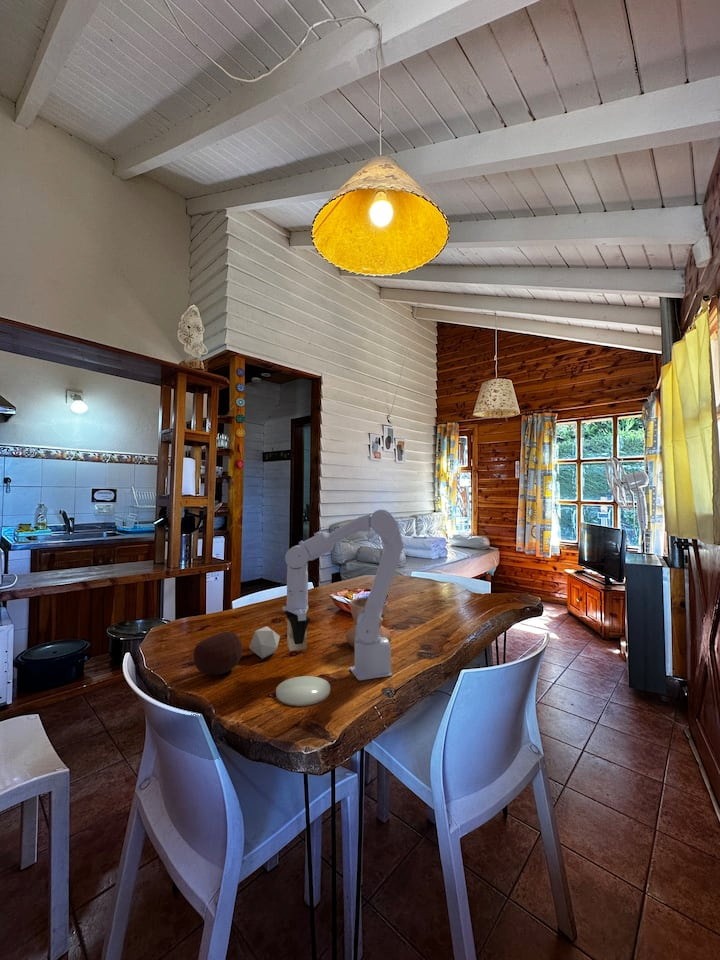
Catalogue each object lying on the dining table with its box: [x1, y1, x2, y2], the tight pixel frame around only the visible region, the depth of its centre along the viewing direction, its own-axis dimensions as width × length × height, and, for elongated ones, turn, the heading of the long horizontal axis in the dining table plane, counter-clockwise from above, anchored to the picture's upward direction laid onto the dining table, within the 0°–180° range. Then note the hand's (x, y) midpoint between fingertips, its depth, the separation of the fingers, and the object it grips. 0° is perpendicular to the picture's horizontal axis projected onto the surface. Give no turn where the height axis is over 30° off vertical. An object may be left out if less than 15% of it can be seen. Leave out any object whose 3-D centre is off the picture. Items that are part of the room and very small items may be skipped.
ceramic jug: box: [345, 596, 392, 649], centre depth 128 cm, size 18×14×14 cm
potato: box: [192, 631, 243, 676], centre depth 108 cm, size 11×13×10 cm
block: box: [286, 618, 308, 652], centre depth 109 cm, size 4×4×7 cm
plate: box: [275, 675, 331, 707], centre depth 97 cm, size 13×13×1 cm
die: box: [248, 626, 281, 660], centre depth 120 cm, size 8×9×10 cm
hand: (297, 640), depth 109 cm, fingers closed on block, 4 cm apart
